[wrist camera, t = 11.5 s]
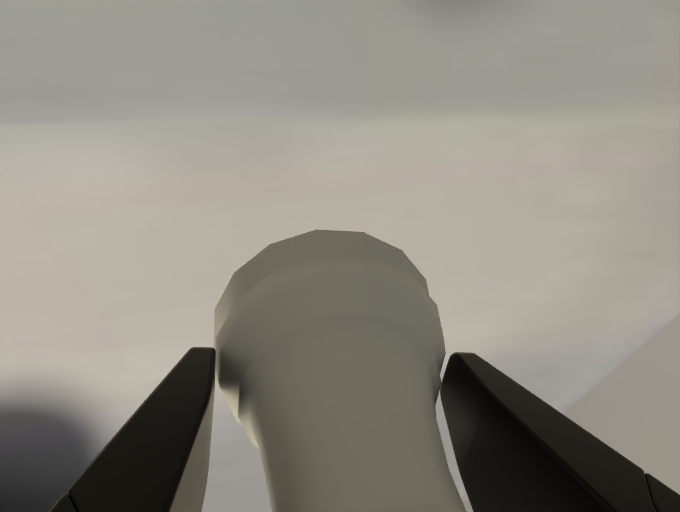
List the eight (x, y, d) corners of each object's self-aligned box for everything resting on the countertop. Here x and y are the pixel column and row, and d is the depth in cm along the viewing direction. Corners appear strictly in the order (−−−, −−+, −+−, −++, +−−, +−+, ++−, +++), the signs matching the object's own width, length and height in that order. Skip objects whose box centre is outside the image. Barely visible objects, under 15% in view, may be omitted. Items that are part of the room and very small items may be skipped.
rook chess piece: (427, 204, 10) (872, 743, 3) (424, 380, 12) (673, 934, 5) (193, 234, 9) (21, 973, 2) (233, 410, 11) (208, 1075, 4)
